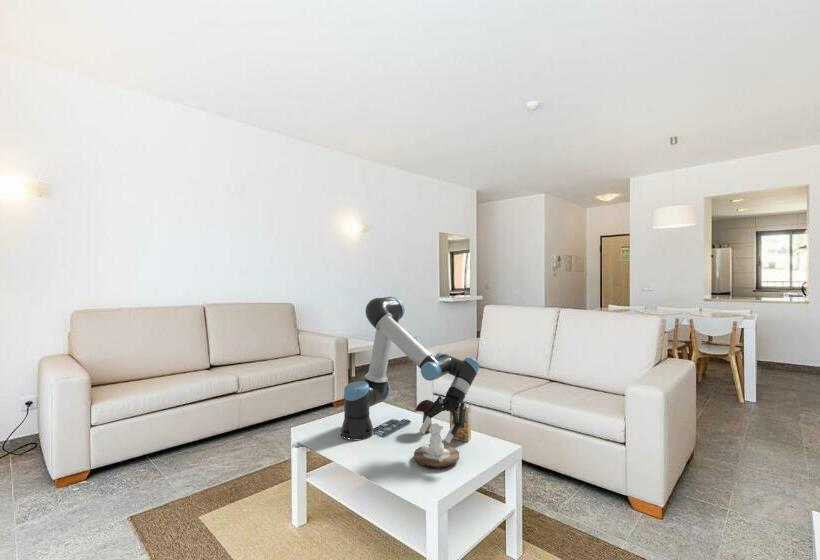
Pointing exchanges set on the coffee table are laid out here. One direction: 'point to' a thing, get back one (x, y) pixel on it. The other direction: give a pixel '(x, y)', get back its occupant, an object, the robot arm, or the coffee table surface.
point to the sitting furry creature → (434, 441)
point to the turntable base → (436, 466)
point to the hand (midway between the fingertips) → (433, 436)
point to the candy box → (465, 432)
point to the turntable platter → (437, 457)
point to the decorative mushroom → (422, 407)
